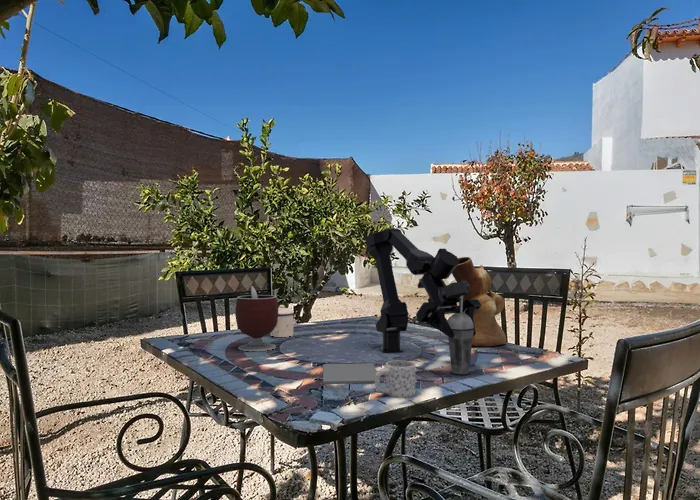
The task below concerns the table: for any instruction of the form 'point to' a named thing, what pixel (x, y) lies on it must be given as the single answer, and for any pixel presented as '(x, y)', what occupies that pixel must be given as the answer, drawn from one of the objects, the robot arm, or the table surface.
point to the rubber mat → (349, 373)
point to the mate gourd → (256, 319)
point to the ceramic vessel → (491, 303)
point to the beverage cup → (460, 341)
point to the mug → (397, 379)
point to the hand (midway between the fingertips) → (463, 336)
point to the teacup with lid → (283, 323)
